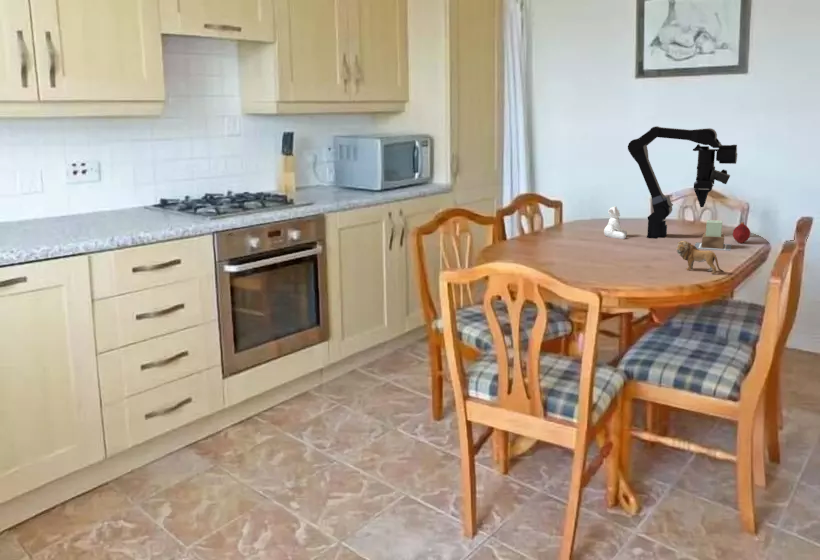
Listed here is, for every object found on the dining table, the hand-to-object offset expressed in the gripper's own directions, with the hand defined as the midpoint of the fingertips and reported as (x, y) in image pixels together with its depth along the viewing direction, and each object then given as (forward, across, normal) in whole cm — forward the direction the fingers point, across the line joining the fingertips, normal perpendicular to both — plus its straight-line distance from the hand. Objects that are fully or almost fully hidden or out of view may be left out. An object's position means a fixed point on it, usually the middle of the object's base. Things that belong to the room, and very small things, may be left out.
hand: (702, 205), depth 269 cm
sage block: (+9, -14, -5) cm, 17 cm away
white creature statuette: (+13, -3, +31) cm, 34 cm away
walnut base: (+13, -14, -5) cm, 19 cm away
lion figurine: (+13, -53, -2) cm, 55 cm away
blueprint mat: (+13, -14, -5) cm, 20 cm away
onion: (+13, -4, -14) cm, 20 cm away
